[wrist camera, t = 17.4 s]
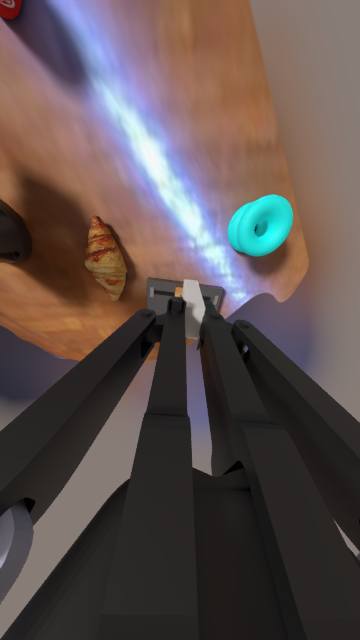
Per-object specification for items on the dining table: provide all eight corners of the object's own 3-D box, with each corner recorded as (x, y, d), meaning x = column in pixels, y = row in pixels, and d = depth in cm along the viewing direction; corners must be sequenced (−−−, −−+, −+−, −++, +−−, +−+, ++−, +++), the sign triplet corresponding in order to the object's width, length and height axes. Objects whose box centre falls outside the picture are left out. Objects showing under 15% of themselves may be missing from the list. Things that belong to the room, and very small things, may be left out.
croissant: (130, 294, 48) (135, 303, 42) (97, 299, 45) (97, 310, 39) (115, 217, 37) (119, 215, 31) (69, 215, 33) (63, 213, 27)
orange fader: (174, 302, 43) (173, 310, 39) (176, 286, 41) (175, 293, 36) (183, 303, 43) (184, 312, 39) (186, 288, 41) (186, 295, 36)
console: (148, 322, 50) (146, 326, 48) (148, 277, 42) (146, 279, 40) (209, 329, 51) (210, 334, 49) (222, 286, 43) (224, 289, 41)
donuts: (236, 259, 29) (243, 197, 24) (224, 253, 38) (228, 205, 33) (287, 254, 29) (305, 189, 24) (263, 249, 37) (273, 200, 32)
